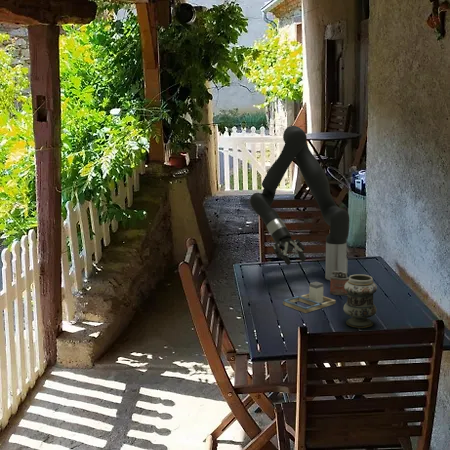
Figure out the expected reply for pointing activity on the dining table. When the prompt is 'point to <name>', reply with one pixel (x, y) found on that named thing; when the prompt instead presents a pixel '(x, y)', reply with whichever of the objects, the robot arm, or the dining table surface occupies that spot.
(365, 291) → the apothecary jar
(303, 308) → the bay tray
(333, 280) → the lighter
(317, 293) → the cream tall block
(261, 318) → the dining table surface
